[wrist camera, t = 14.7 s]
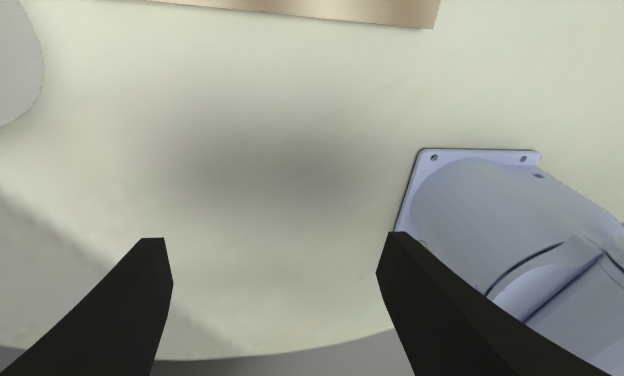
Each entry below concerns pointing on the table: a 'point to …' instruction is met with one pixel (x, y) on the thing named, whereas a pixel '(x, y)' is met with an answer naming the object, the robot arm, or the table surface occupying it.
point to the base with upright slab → (18, 62)
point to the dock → (339, 9)
